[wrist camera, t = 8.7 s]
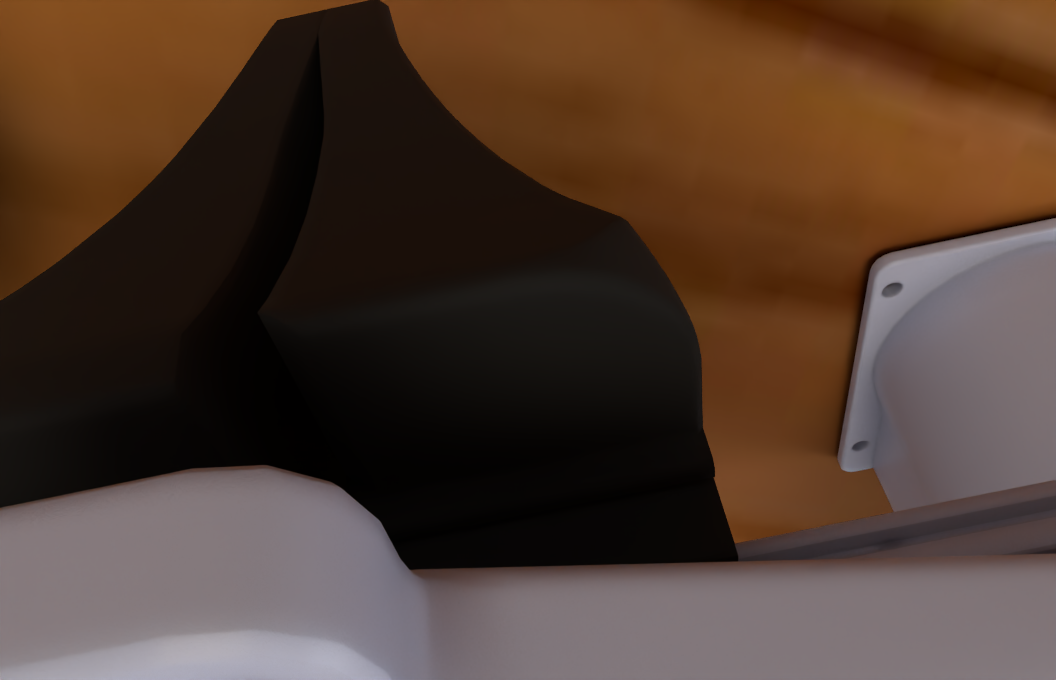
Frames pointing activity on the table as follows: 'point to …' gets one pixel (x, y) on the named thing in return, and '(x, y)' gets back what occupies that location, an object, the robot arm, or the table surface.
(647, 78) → the table surface
